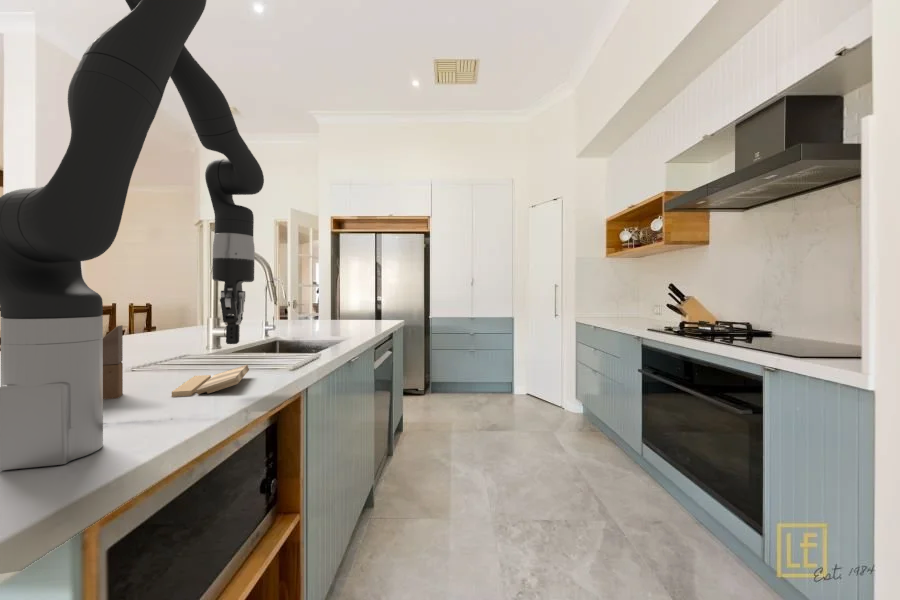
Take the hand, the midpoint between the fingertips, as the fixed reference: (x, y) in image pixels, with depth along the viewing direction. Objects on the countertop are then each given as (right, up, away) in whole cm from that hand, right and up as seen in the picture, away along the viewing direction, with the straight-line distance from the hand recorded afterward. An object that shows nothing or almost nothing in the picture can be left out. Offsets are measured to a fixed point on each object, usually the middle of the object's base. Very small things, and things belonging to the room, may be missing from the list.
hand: (232, 343), depth 84 cm
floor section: (-5, -10, +3) cm, 12 cm away
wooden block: (-23, -10, -8) cm, 26 cm away
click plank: (-3, -9, +4) cm, 10 cm away
